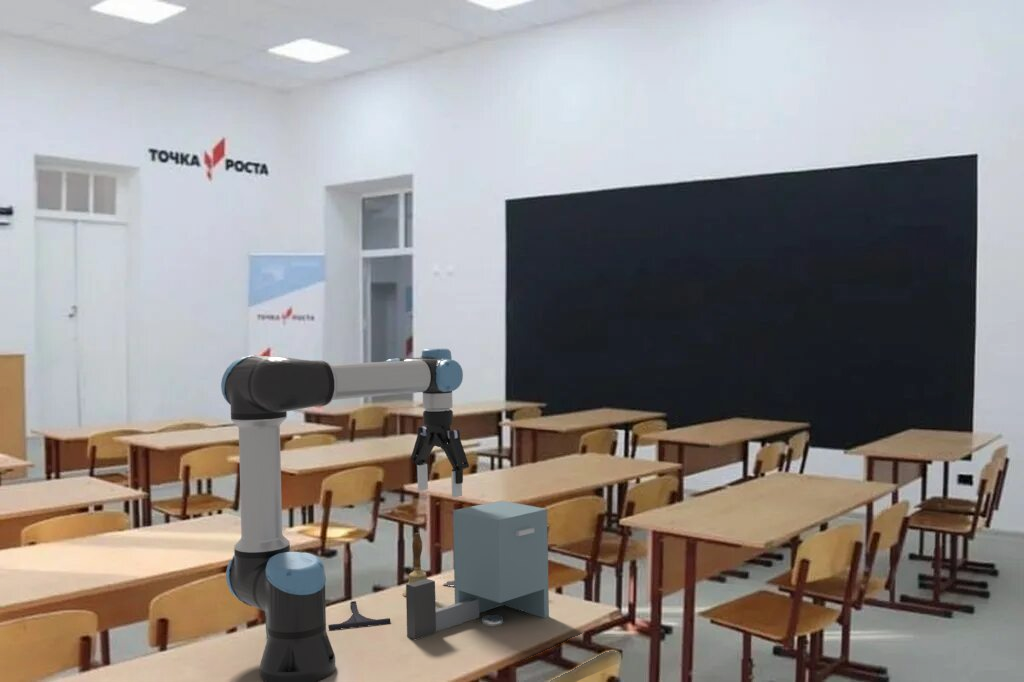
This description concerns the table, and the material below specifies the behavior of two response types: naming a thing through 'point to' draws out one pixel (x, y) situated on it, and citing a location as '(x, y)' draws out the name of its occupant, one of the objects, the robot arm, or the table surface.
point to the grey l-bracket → (434, 610)
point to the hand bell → (416, 561)
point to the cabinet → (502, 556)
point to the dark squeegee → (358, 620)
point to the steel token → (492, 620)
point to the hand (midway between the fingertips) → (439, 493)
